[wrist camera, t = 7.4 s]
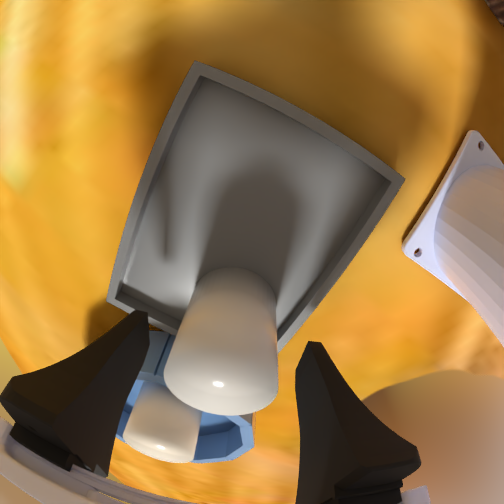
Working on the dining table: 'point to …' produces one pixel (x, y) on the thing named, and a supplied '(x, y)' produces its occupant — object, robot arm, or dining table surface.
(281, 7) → the dining table surface
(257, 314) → the cylinder
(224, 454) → the bowl
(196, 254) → the tray
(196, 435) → the white rounded capsule
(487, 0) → the cupcake
